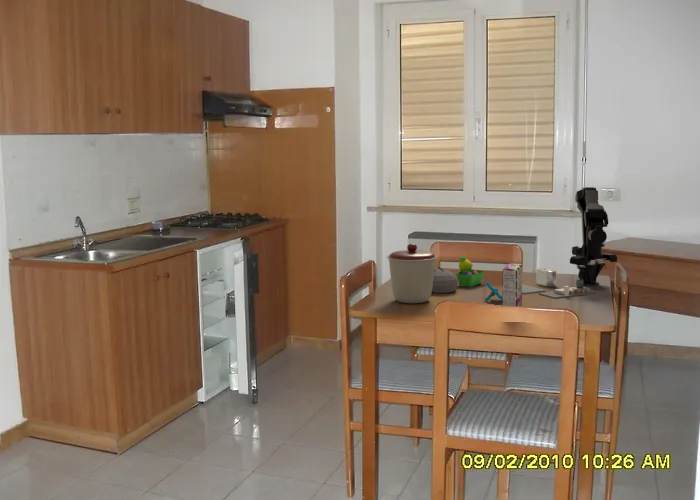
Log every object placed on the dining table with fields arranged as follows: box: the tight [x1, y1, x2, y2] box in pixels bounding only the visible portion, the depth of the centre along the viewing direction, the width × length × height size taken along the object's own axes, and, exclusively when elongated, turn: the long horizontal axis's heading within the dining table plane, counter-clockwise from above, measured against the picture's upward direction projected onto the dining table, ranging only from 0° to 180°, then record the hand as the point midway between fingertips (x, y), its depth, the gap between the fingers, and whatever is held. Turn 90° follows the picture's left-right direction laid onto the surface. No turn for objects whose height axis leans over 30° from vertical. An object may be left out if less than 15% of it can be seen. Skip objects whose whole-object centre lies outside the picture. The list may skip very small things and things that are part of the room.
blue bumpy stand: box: [484, 280, 503, 302], centre depth 262 cm, size 11×6×10 cm
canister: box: [386, 243, 438, 304], centre depth 263 cm, size 18×18×21 cm
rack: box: [553, 278, 591, 294], centre depth 273 cm, size 13×5×4 cm, turn 115°
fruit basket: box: [455, 256, 485, 288], centre depth 294 cm, size 11×9×11 cm
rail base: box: [538, 285, 596, 299], centre depth 272 cm, size 19×9×4 cm, turn 115°
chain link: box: [535, 267, 557, 288], centre depth 291 cm, size 4×10×6 cm, turn 25°
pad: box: [522, 284, 546, 295], centre depth 282 cm, size 10×13×1 cm
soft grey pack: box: [432, 266, 459, 294], centre depth 285 cm, size 15×8×20 cm
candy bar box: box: [502, 263, 523, 307], centre depth 239 cm, size 11×5×16 cm, turn 158°
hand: (592, 281), depth 278 cm, fingers closed
